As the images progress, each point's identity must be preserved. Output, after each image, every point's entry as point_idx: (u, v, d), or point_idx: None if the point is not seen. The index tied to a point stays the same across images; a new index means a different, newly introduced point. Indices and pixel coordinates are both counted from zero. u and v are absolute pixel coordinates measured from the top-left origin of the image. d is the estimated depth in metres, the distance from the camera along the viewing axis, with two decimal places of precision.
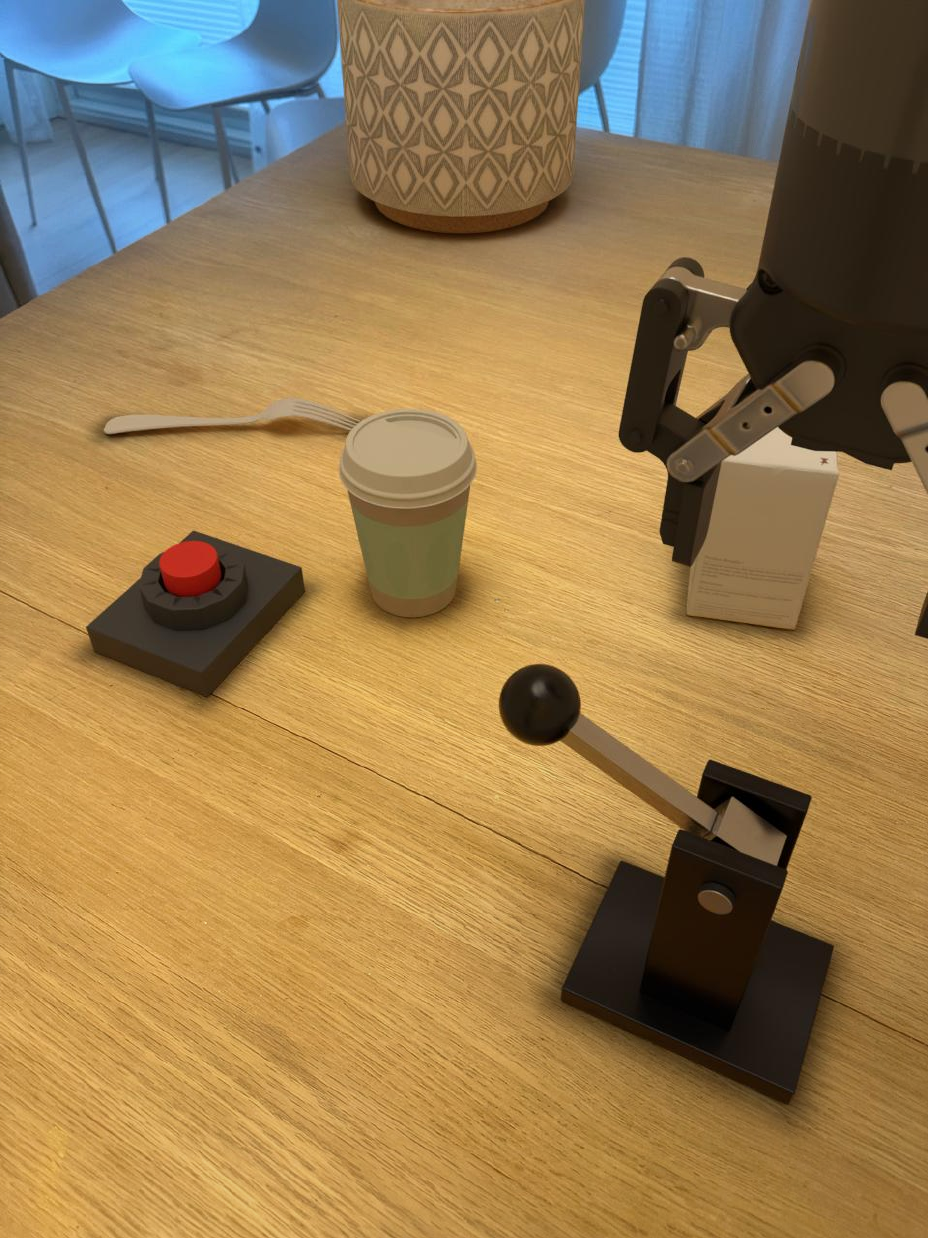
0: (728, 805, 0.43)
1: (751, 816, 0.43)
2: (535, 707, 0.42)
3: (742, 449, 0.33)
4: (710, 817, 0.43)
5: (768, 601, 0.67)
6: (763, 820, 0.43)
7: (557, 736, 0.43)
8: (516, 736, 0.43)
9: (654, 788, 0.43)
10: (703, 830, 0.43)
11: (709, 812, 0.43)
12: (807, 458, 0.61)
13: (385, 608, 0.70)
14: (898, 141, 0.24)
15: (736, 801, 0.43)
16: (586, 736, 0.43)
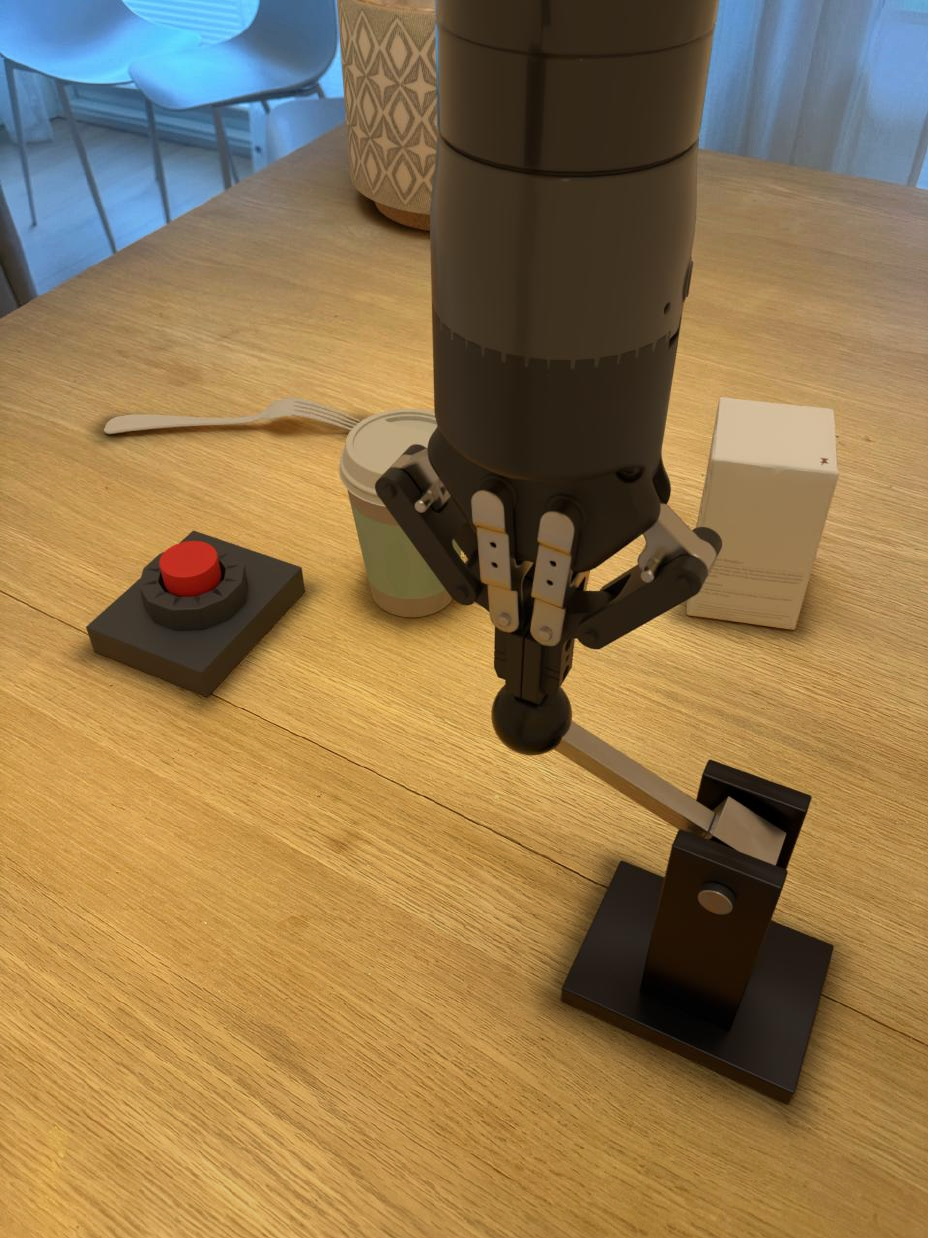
0: (724, 805, 0.43)
1: (748, 814, 0.43)
2: (524, 716, 0.43)
3: (509, 583, 0.38)
4: (707, 818, 0.43)
5: (768, 601, 0.67)
6: (761, 818, 0.43)
7: (549, 744, 0.43)
8: (509, 747, 0.44)
9: (649, 791, 0.43)
10: (701, 831, 0.43)
11: (706, 813, 0.43)
12: (807, 458, 0.61)
13: (385, 608, 0.70)
14: (487, 336, 0.29)
15: (733, 801, 0.43)
16: (578, 743, 0.44)
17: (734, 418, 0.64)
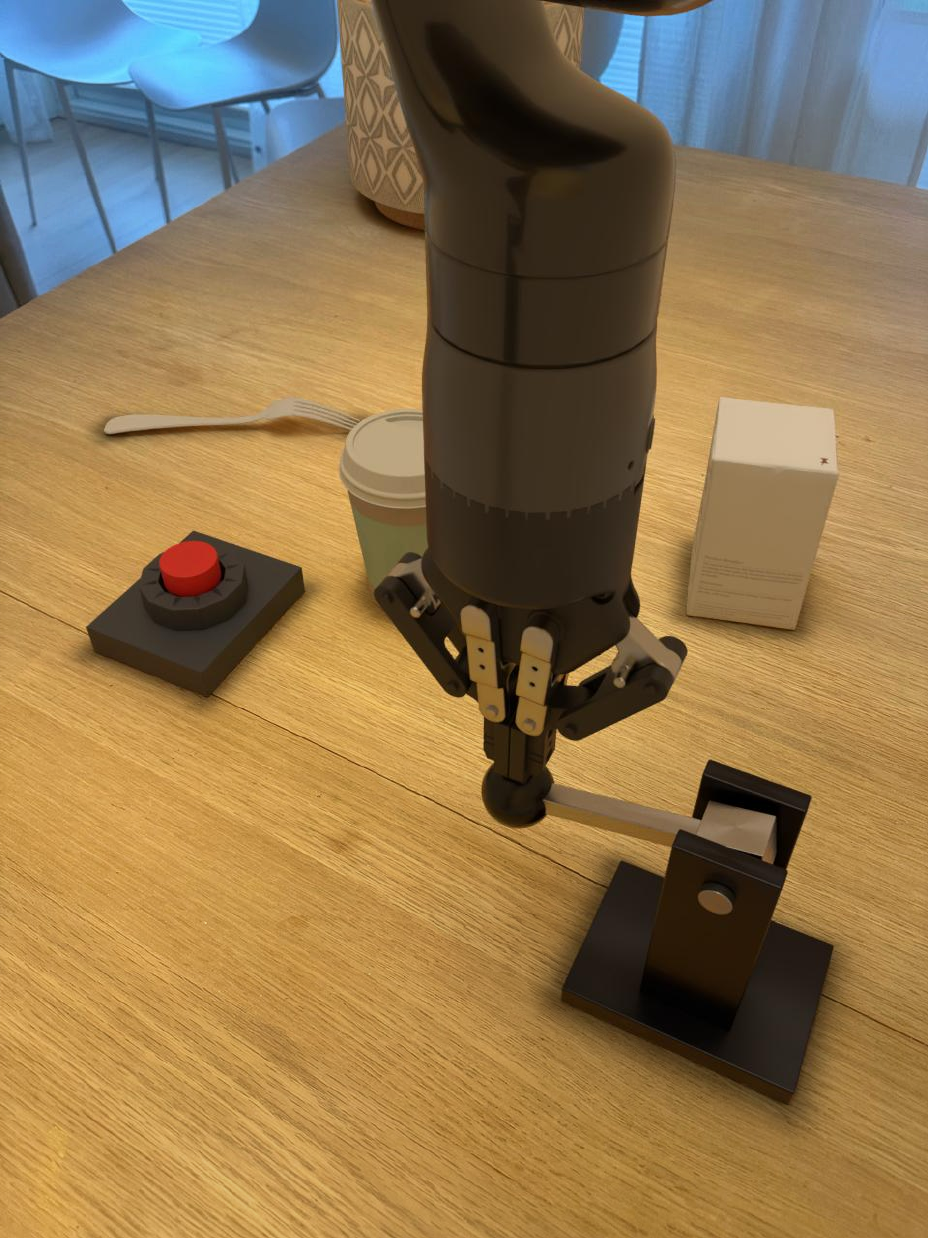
0: (706, 809, 0.44)
1: (732, 810, 0.43)
2: (498, 791, 0.47)
3: (495, 682, 0.41)
4: (696, 827, 0.44)
5: (768, 601, 0.67)
6: (747, 810, 0.43)
7: (532, 809, 0.47)
8: (504, 824, 0.47)
9: (632, 821, 0.45)
10: None
11: (695, 823, 0.44)
12: (807, 458, 0.61)
13: None
14: (472, 491, 0.33)
15: (714, 803, 0.44)
16: (559, 800, 0.47)
17: (734, 419, 0.64)
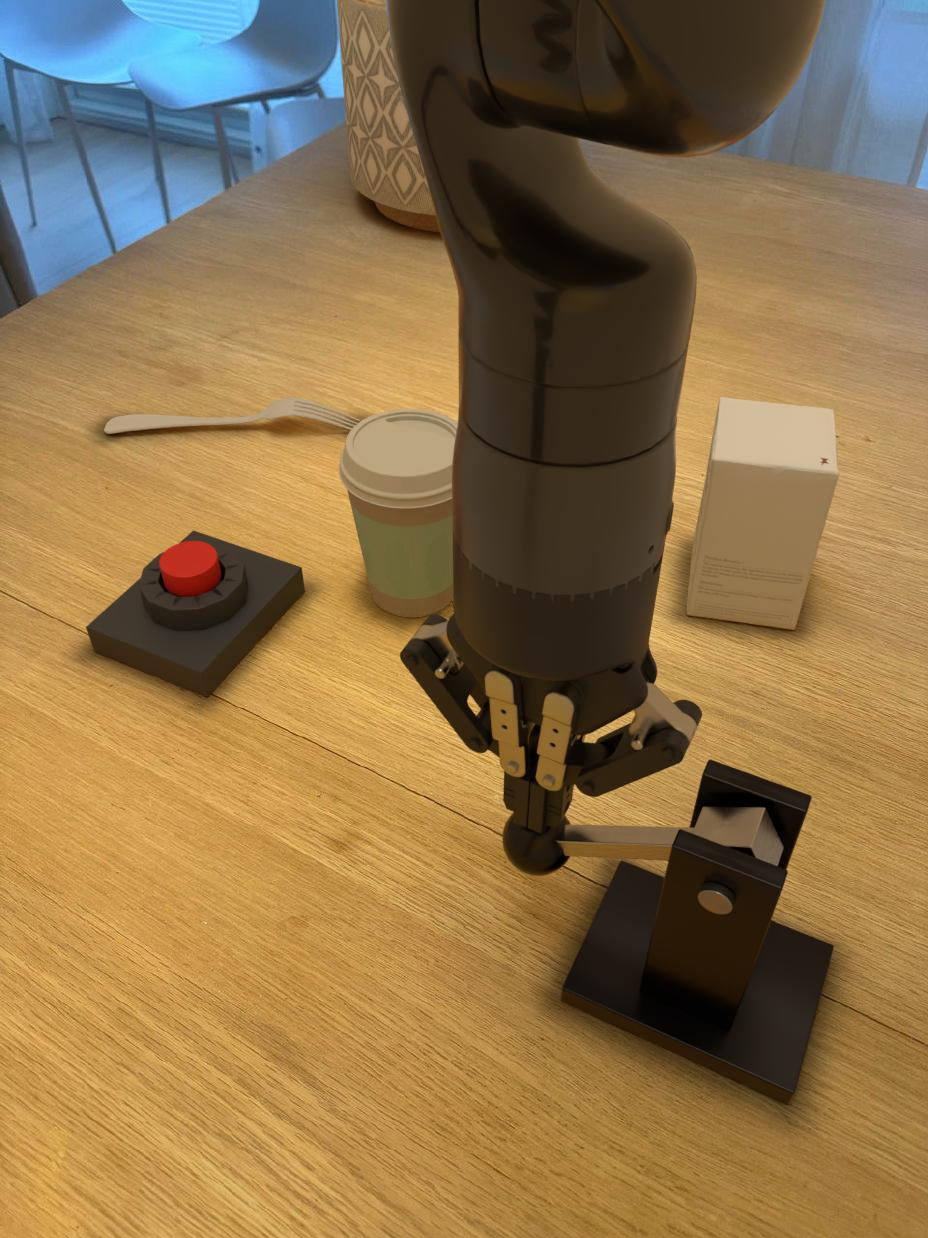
0: (699, 815, 0.44)
1: (724, 811, 0.44)
2: (512, 840, 0.49)
3: (517, 742, 0.43)
4: None
5: (768, 601, 0.67)
6: (737, 808, 0.44)
7: (547, 852, 0.48)
8: (529, 873, 0.49)
9: (636, 842, 0.46)
10: None
11: None
12: (807, 458, 0.61)
13: (385, 608, 0.70)
14: (500, 573, 0.35)
15: (707, 808, 0.44)
16: (571, 838, 0.48)
17: (734, 418, 0.64)
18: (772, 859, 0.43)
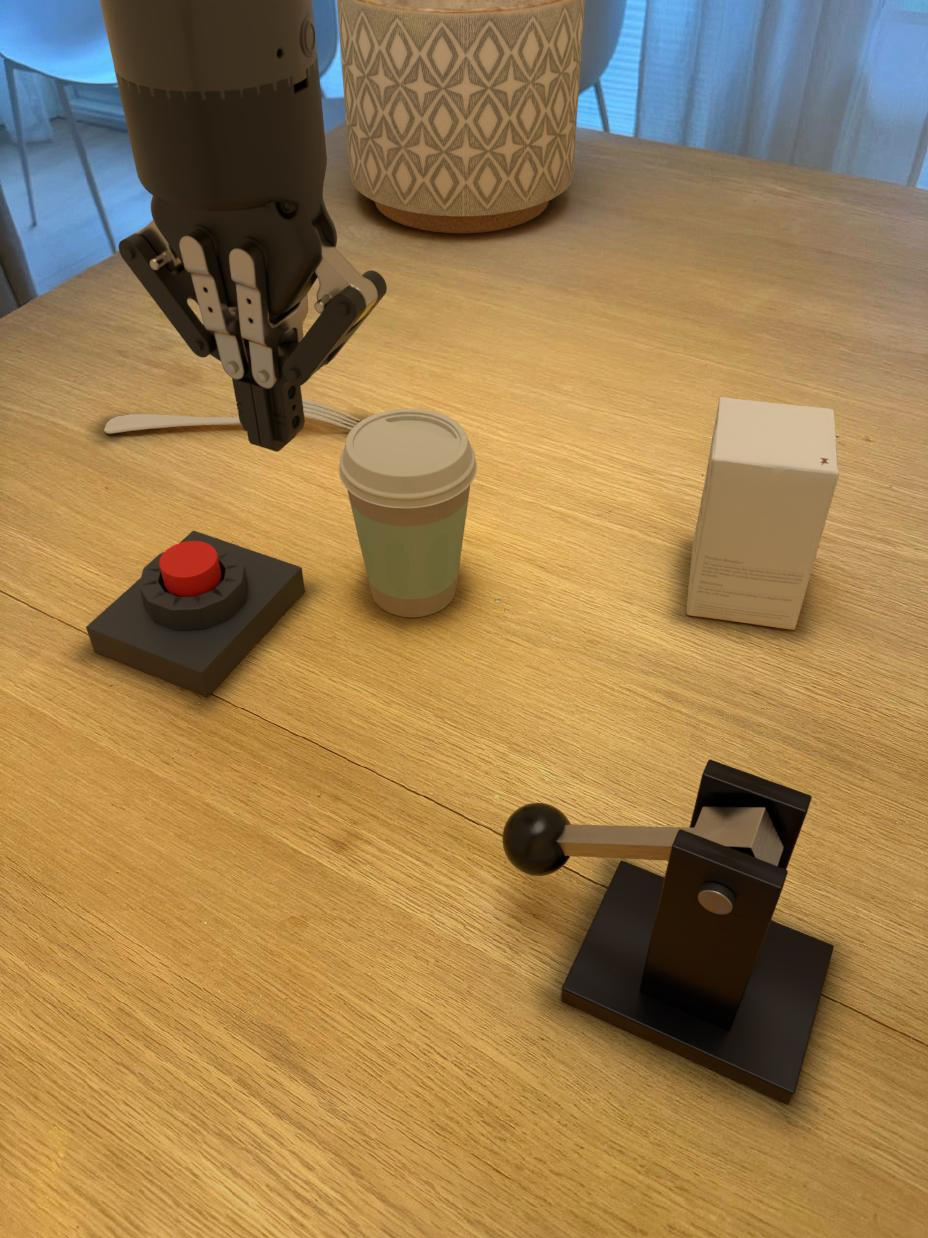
0: (699, 815, 0.44)
1: (724, 811, 0.44)
2: (512, 840, 0.49)
3: (223, 325, 0.46)
4: None
5: (768, 601, 0.67)
6: (737, 808, 0.44)
7: (547, 852, 0.48)
8: (529, 873, 0.49)
9: (636, 842, 0.46)
10: None
11: None
12: (807, 458, 0.61)
13: (385, 608, 0.70)
14: (138, 74, 0.37)
15: (707, 808, 0.44)
16: (571, 838, 0.48)
17: (734, 418, 0.64)
18: (772, 859, 0.43)
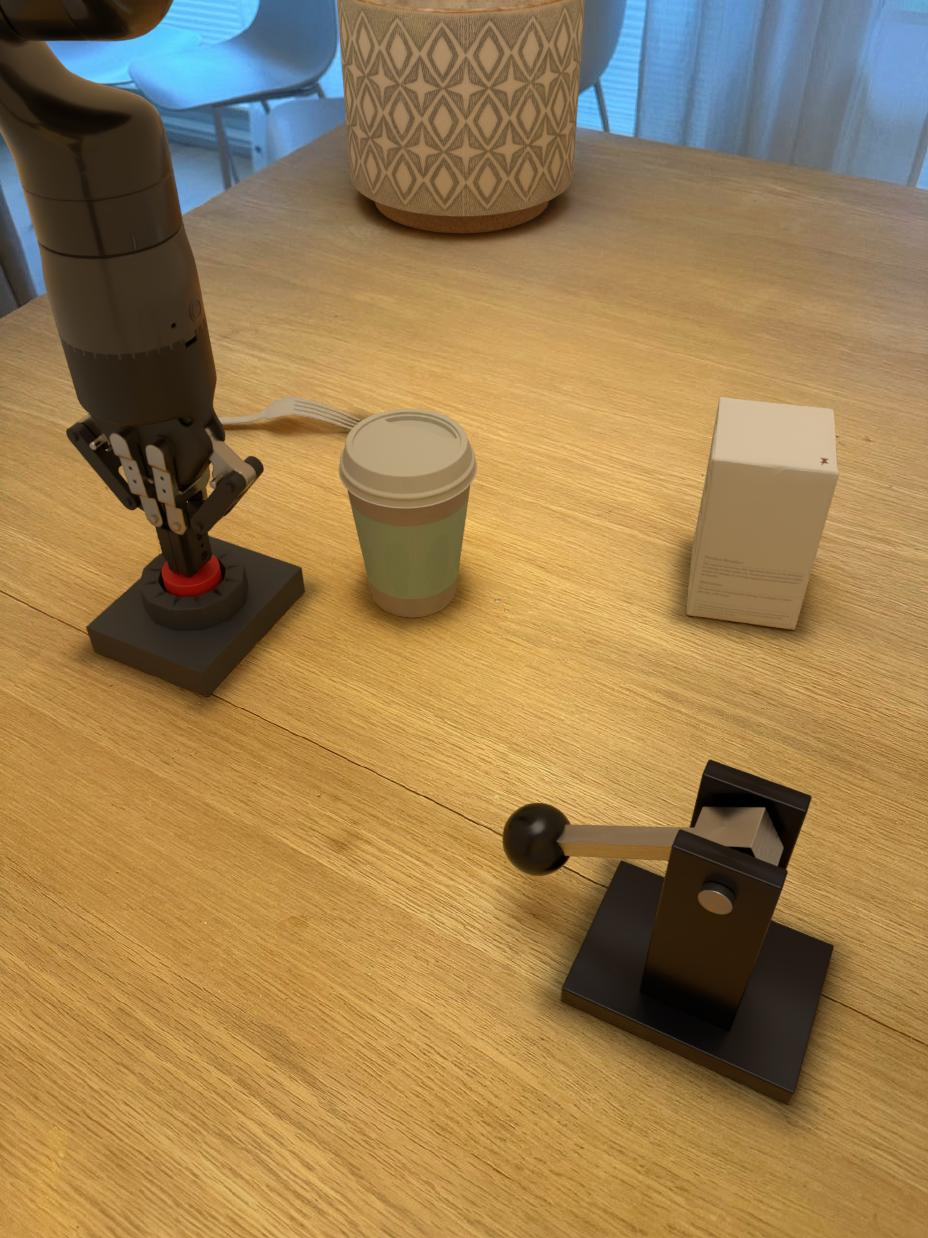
0: (699, 815, 0.44)
1: (724, 811, 0.44)
2: (512, 840, 0.49)
3: (145, 492, 0.61)
4: None
5: (768, 601, 0.67)
6: (737, 808, 0.44)
7: (547, 852, 0.48)
8: (529, 873, 0.49)
9: (636, 842, 0.46)
10: None
11: None
12: (807, 458, 0.61)
13: (385, 608, 0.70)
14: (73, 341, 0.53)
15: (707, 808, 0.44)
16: (571, 838, 0.48)
17: (734, 419, 0.64)
18: (772, 859, 0.43)
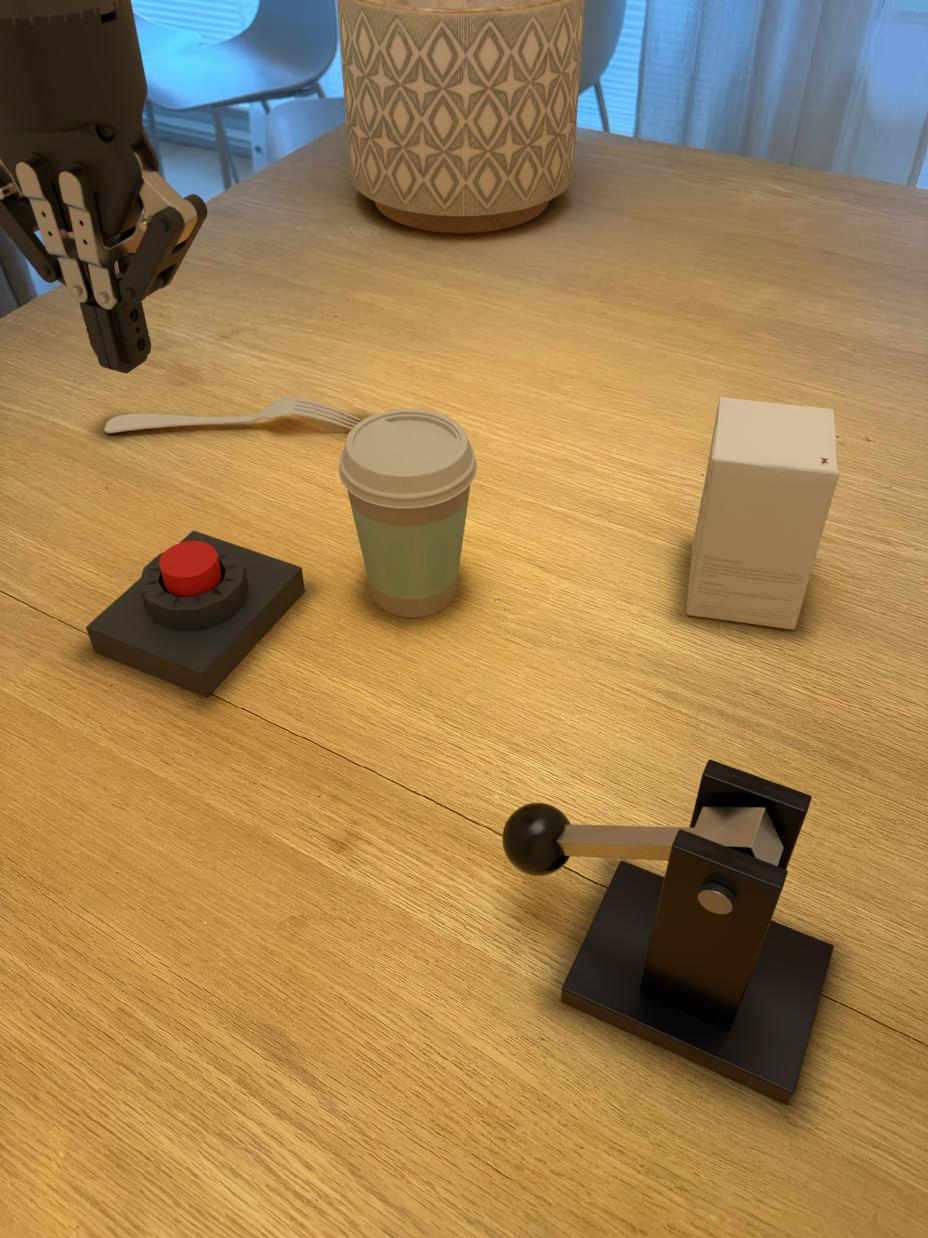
0: (699, 815, 0.44)
1: (724, 811, 0.44)
2: (512, 840, 0.49)
3: (63, 248, 0.50)
4: None
5: (768, 601, 0.67)
6: (737, 808, 0.44)
7: (547, 852, 0.48)
8: (529, 873, 0.49)
9: (636, 842, 0.46)
10: None
11: None
12: (807, 458, 0.61)
13: (385, 608, 0.70)
14: None
15: (707, 808, 0.44)
16: (571, 838, 0.48)
17: (734, 418, 0.64)
18: (772, 859, 0.43)
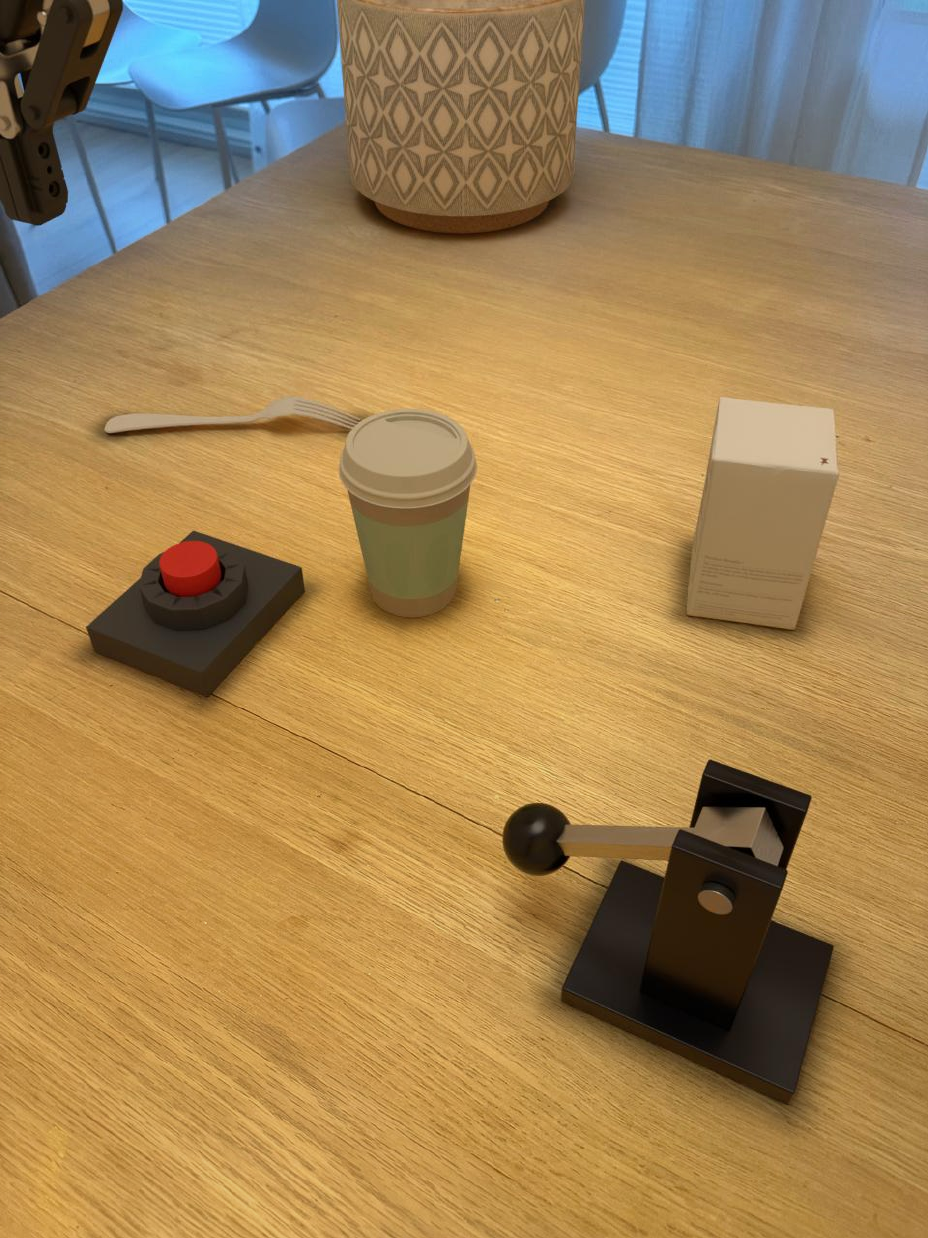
0: (699, 815, 0.44)
1: (724, 811, 0.44)
2: (512, 840, 0.49)
3: None
4: None
5: (768, 601, 0.67)
6: (737, 808, 0.44)
7: (547, 852, 0.48)
8: (529, 873, 0.49)
9: (636, 842, 0.46)
10: None
11: None
12: (807, 458, 0.61)
13: (385, 608, 0.70)
14: None
15: (707, 808, 0.44)
16: (571, 838, 0.48)
17: (734, 419, 0.64)
18: (772, 859, 0.43)
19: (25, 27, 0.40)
